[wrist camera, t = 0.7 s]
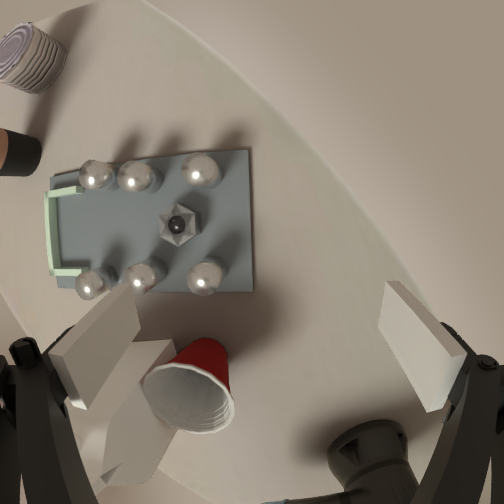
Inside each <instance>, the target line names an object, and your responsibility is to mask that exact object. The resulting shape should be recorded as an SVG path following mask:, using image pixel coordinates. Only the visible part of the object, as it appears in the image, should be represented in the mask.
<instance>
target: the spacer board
mask: <svg viewBox="0 0 504 504" xmlns="http://www.w3.org/2000/svg"><path fill="white" fill-rule="evenodd" d="M204 153H205V154H207V155H208V156H209V157H211V158H212V159H213V160H214V161H215V162H216V163H218V164H219V165H220V166H221V168H222V170H223V179H222V181H221V183H220V184H219V185H218V186H217V187H215V188H213V189H204V188H201V187H198V186H195V185H192V184H189V183H188V182H186V181H185V180H184V178H183V176H182V173H181V166H182V163H183V161H184V159H185V158H186V157H187V156H188V155H190V154H183V155H174V156H166V157H158V158H151V159H144V160H137V162H140V163H143V164H146V165H149V166H152V167H155V168H157V169H159V170H160V171H161V173H162V175H163V184H162V186H161V188H160V189H159V190H158V191H157V192H155V193H153V194H147V193H137V192H128V191H125V190H123V189H122V188H121V187H119V188H118V189H117V190H115V191H107V190H96V189H86V188H84V193H81V194H75V195H69V196H63V197H58V198H56V208H57V229H58V242H59V253H60V262H61V267H88V268H89V270H92V269H95V268H97V267H100V266H103V265H110V266H112V267H113V268H114V269H115V270H116V272H117V275H118V282H117V285H118V284H119V283H124V280H123V276H124V272H125V270H126V269H127V268H128V267H130V266H132V265H134V264H136V263H139V262H141V261H144V260H146V259H149V258H151V257H158V258H161V259H162V260H163V261H164V262H165V263H166V265H167V268H168V274H167V277H166V279H165V280H164V281H162V282H161V283H159V284H158V285H157V286H155V287H154V288H152V289H151V290H149V291H154V292H192V291H191V290H190V289H189V287H188V285H187V281H186V277H187V273H188V271H189V270H190V269H191V268H192V267H193V266H195V265H196V264H197V263H199V262H200V261H201V260H203V259H204V258H206V257H208V256H218V257H220V258H221V259H222V260H223V261H224V262H225V264H226V267H227V273H226V276H225V278H224V279H223V281H222V282H221V283H220V285H219V286H218V288H217V289H216V291H215V292H253V269H252V239H251V210H250V181H249V151H248V150H230V151H216V152H204ZM124 163H125V162H124ZM124 163H118V164H112V165H115V166H118V167H121V166H122V165H123V164H124ZM72 186H81V184H80V182H79V171H76V172H72V173H67V174H63V175H59V176H54V177H50V191H52V190H57V189H62V188H67V187H72ZM175 203H183V204H185V205H187V206H189V207H191V208H193V209H195V210H197V211H199V212H200V213H201V234H199V235H198V236H196V237H195V238H193V239H192V240H190V241H189V242H187V243H186V244H184V245H181V246H179V247H178V246H176V245H174V244H172V243H170V242H169V241H167V240H165V239H163V238H162V237H160V228H159V215H160V214H161V213H162V212H164V211H165V210H167V209H168V208H169V207H171V206H172V205H174V204H175ZM76 277H77V276H56V278H57V284H58V288H72V289H76V288H75V280H76ZM117 285H116V286H117ZM116 286H115V287H116ZM115 287H114V288H115ZM114 288H112V289H110V290H113V289H114Z"/></svg>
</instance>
